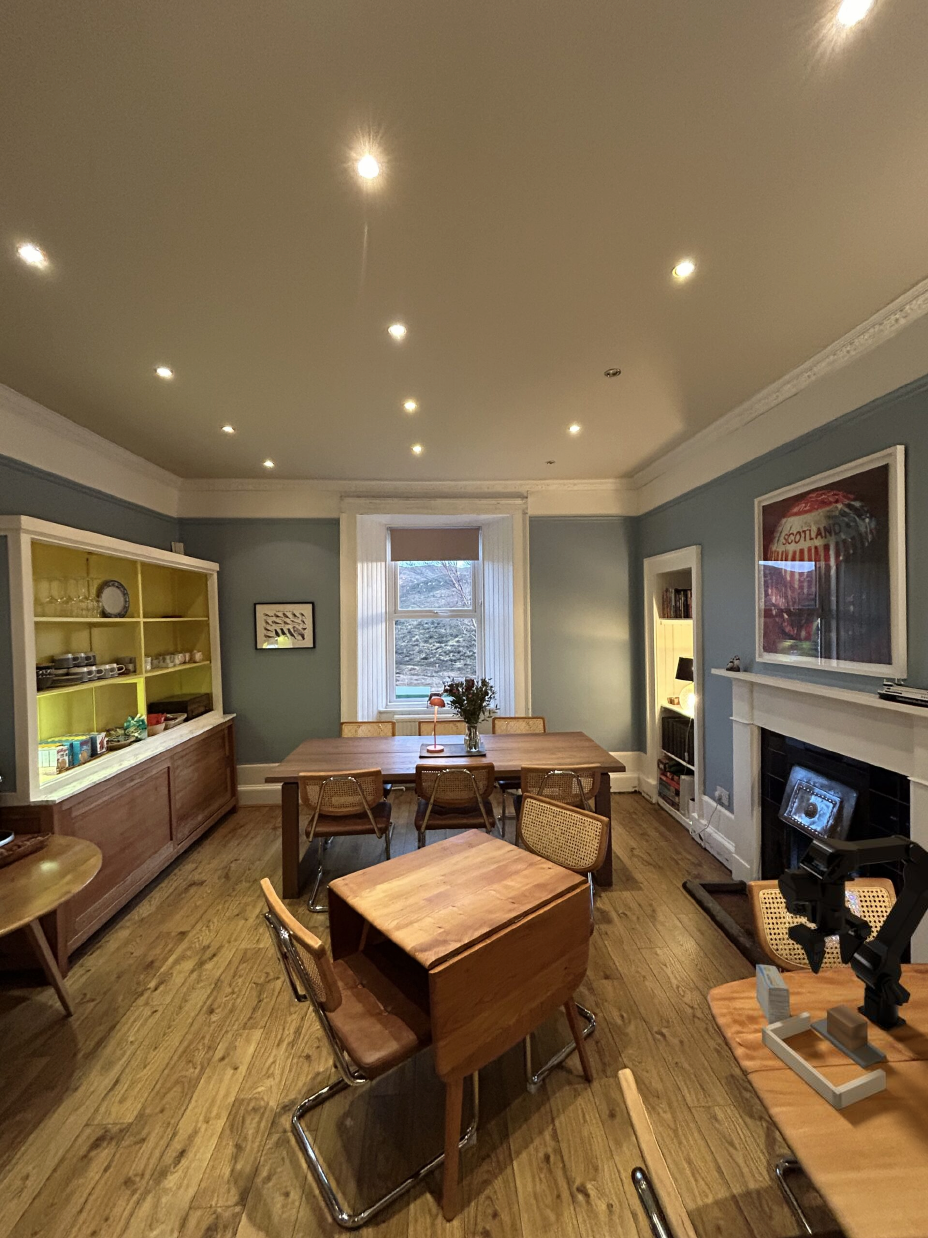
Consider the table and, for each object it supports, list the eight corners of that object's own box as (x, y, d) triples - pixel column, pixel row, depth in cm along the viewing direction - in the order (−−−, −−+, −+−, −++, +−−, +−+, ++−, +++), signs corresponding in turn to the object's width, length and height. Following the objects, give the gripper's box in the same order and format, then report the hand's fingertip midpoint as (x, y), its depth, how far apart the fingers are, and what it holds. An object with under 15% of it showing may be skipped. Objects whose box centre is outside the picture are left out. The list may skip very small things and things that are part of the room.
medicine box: (790, 1029, 113) (790, 990, 112) (768, 1026, 113) (768, 987, 113) (776, 1002, 120) (776, 965, 120) (755, 999, 121) (755, 963, 121)
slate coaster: (832, 1018, 115) (832, 1015, 115) (886, 1058, 105) (886, 1055, 105) (810, 1026, 113) (810, 1023, 113) (862, 1068, 103) (862, 1065, 103)
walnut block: (843, 1026, 112) (843, 1004, 112) (867, 1044, 107) (867, 1021, 107) (826, 1033, 111) (826, 1010, 110) (851, 1051, 106) (850, 1027, 106)
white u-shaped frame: (806, 1025, 113) (806, 1012, 113) (885, 1088, 98) (885, 1073, 98) (761, 1041, 109) (761, 1028, 109) (837, 1110, 94) (837, 1094, 94)
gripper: (823, 874, 125) (824, 938, 125) (766, 888, 119) (766, 955, 119) (873, 898, 114) (873, 967, 114) (812, 915, 108) (812, 988, 108)
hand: (829, 968), depth 114 cm, fingers open, 9 cm apart
